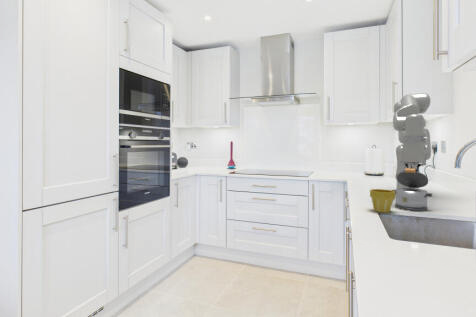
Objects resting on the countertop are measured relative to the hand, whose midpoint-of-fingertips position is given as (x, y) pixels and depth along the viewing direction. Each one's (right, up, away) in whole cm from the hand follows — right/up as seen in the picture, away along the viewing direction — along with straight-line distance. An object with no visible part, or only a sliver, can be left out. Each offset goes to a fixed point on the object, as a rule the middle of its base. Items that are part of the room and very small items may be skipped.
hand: (412, 176), depth 133 cm
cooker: (-2, -15, -1) cm, 15 cm away
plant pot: (-19, -16, -7) cm, 26 cm away
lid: (-1, -1, -1) cm, 2 cm away
